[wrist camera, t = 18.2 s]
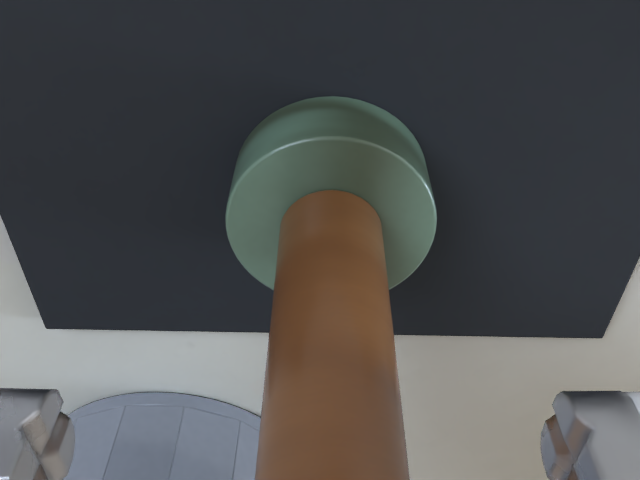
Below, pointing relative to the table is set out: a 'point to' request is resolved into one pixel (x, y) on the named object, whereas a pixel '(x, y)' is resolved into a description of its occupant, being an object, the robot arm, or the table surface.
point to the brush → (331, 281)
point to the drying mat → (304, 83)
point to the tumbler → (163, 439)
